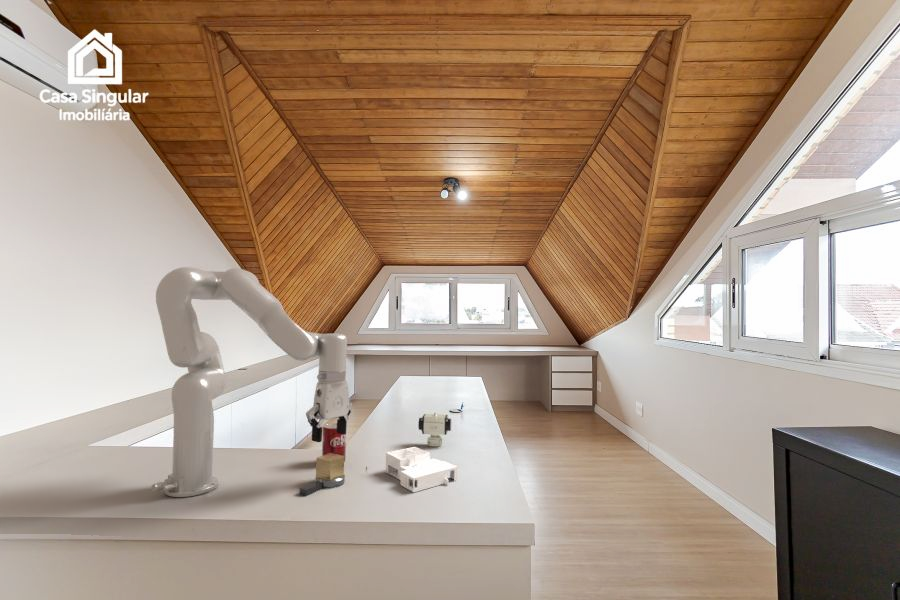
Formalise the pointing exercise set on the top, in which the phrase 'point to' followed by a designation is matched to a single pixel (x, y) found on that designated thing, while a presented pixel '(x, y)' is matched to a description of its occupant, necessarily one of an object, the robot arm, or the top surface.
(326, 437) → the soda can
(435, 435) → the pneumatic valve
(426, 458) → the house
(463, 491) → the top surface
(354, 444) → the top surface
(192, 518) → the top surface
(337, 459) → the tan wooden cube
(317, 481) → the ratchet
